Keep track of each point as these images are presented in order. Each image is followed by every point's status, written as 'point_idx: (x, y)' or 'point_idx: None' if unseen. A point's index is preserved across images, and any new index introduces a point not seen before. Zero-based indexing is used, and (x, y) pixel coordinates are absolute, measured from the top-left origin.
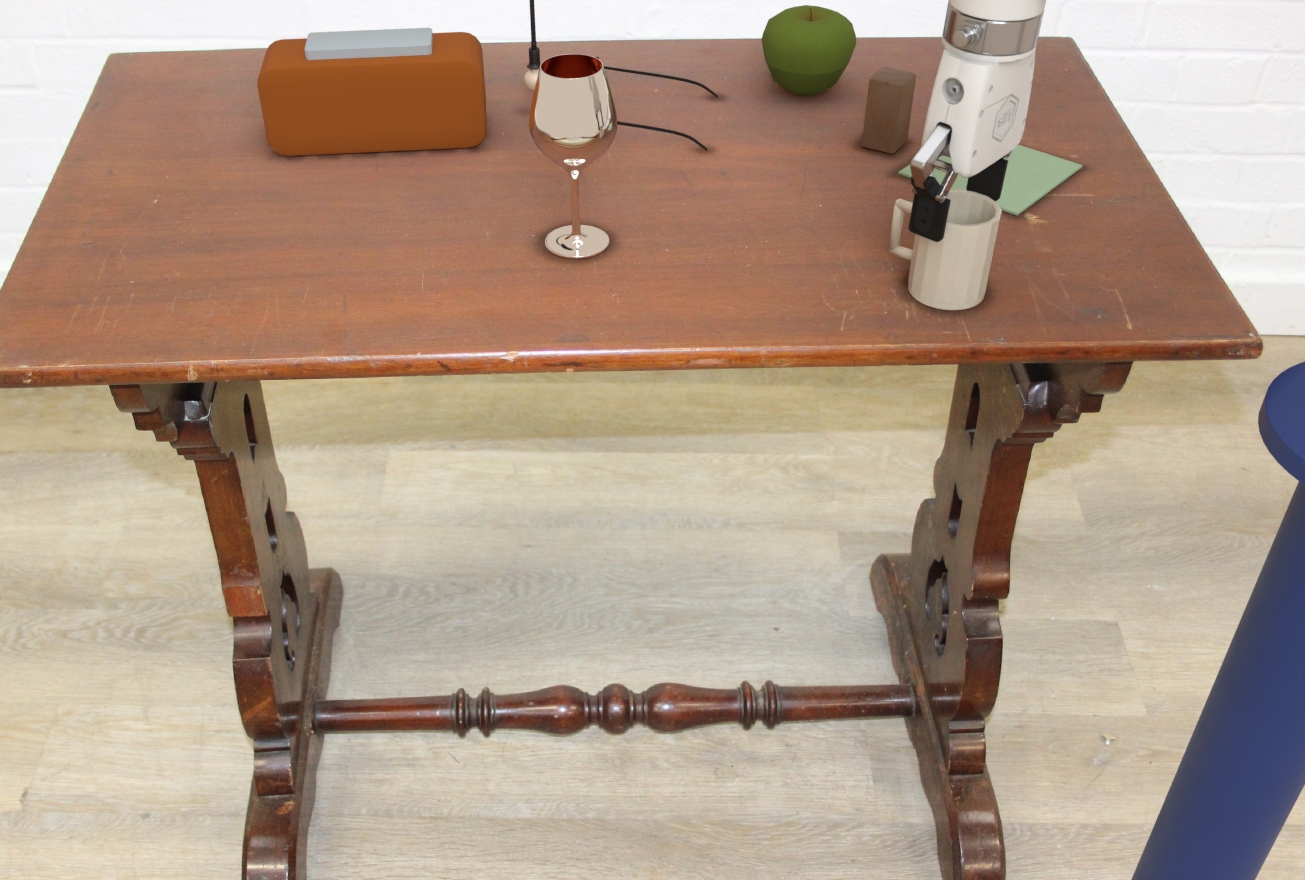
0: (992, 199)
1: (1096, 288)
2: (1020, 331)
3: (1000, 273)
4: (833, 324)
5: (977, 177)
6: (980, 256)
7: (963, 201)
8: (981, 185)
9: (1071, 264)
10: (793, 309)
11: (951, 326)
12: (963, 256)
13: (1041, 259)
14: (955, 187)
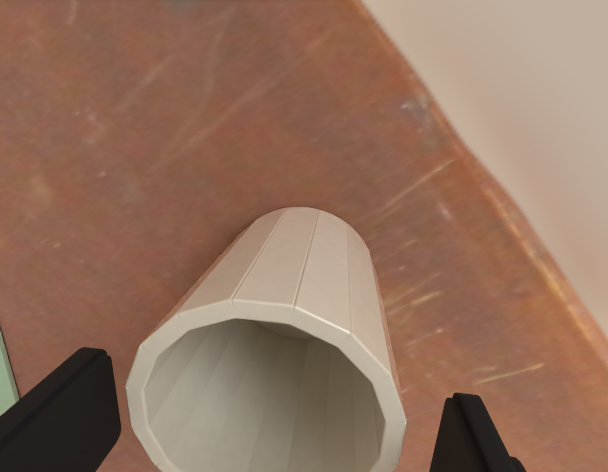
0: (106, 361)
1: (83, 26)
2: (352, 86)
3: (177, 221)
4: (527, 382)
5: (76, 466)
6: (326, 260)
7: (173, 418)
8: (91, 428)
9: (44, 120)
10: (513, 446)
11: (417, 214)
12: (368, 297)
13: (75, 179)
14: (1, 394)
